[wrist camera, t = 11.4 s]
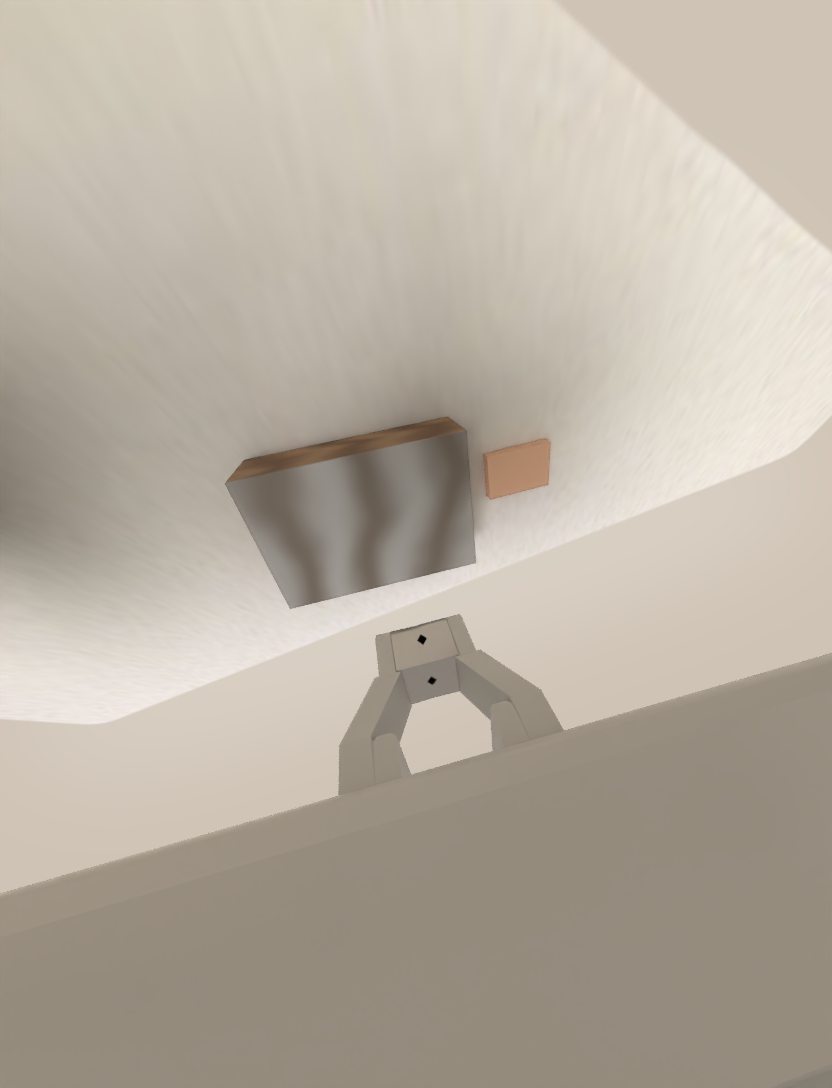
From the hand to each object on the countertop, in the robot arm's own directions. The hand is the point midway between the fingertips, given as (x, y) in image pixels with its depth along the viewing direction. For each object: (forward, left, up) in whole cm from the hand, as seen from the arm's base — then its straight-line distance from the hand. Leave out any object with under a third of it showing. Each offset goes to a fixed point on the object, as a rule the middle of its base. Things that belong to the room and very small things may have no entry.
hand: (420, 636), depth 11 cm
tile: (+15, -6, -24) cm, 29 cm away
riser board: (-2, -6, -25) cm, 26 cm away
